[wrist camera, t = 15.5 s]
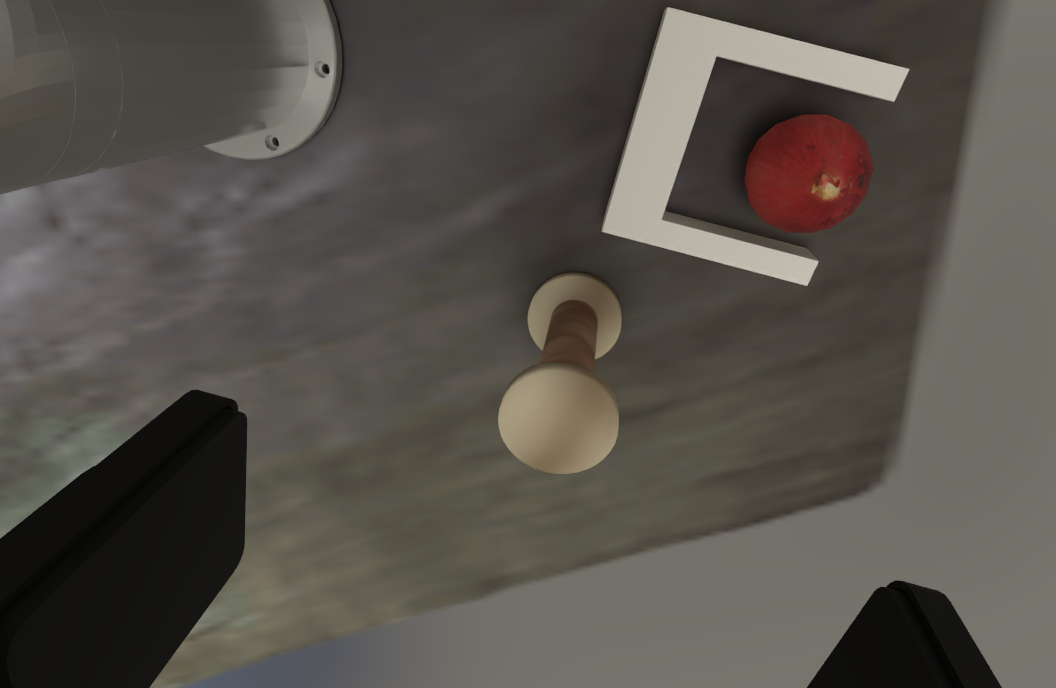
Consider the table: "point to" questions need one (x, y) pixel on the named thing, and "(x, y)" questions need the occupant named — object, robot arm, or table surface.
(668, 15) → the notched board
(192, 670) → the table surface
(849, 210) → the pomegranate
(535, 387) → the spool
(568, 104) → the table surface
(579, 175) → the table surface
